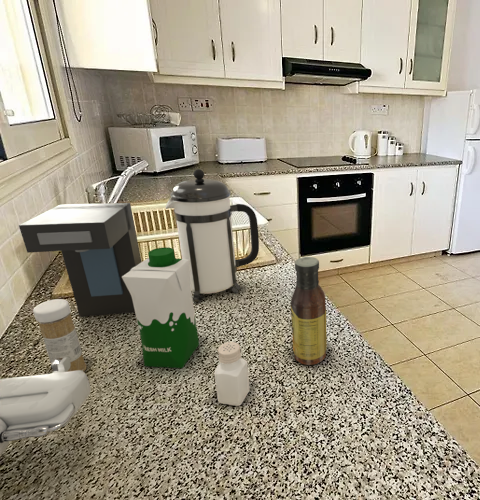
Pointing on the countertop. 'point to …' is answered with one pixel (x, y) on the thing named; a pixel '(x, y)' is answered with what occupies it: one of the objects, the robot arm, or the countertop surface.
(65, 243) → the coffee maker
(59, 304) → the sprinkles bottle
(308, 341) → the sauce bottle
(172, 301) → the milk carton
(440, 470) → the countertop surface
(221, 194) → the coffee press
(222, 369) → the salt shaker
